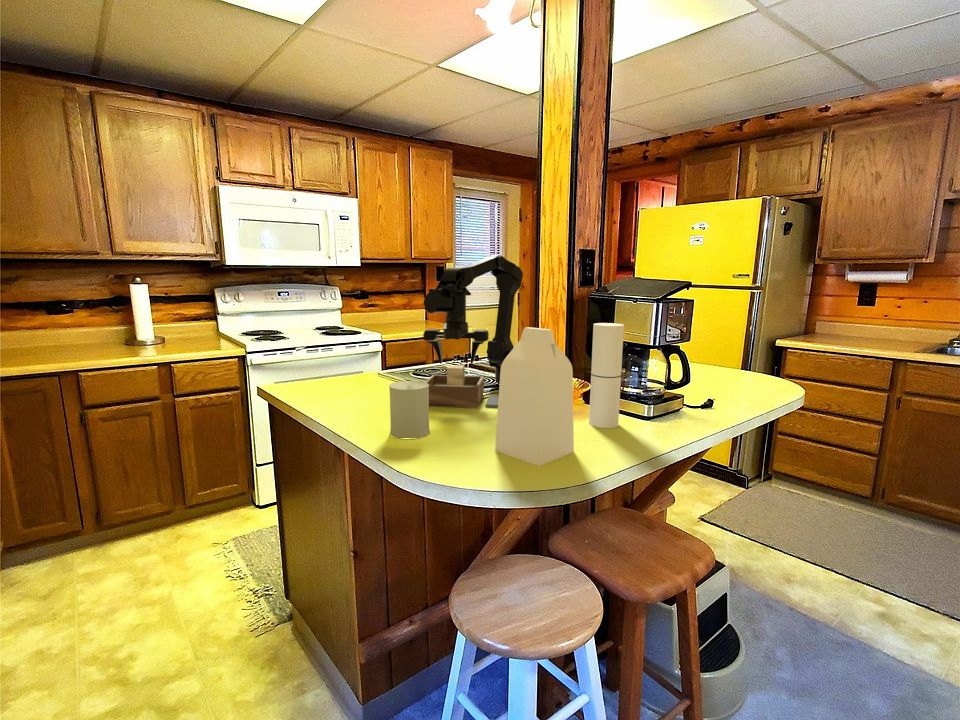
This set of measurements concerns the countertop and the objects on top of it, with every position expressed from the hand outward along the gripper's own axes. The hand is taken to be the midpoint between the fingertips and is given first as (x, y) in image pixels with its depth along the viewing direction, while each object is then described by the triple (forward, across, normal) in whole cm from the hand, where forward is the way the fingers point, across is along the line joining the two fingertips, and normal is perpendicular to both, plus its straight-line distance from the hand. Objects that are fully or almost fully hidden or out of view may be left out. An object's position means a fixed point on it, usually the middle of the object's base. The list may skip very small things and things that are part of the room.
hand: (456, 363), depth 148 cm
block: (+7, 0, 0) cm, 7 cm away
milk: (+10, +24, -43) cm, 50 cm away
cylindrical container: (+11, +41, -21) cm, 47 cm away
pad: (+10, +14, -4) cm, 18 cm away
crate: (+10, 0, -4) cm, 11 cm away
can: (+10, -5, -35) cm, 37 cm away
